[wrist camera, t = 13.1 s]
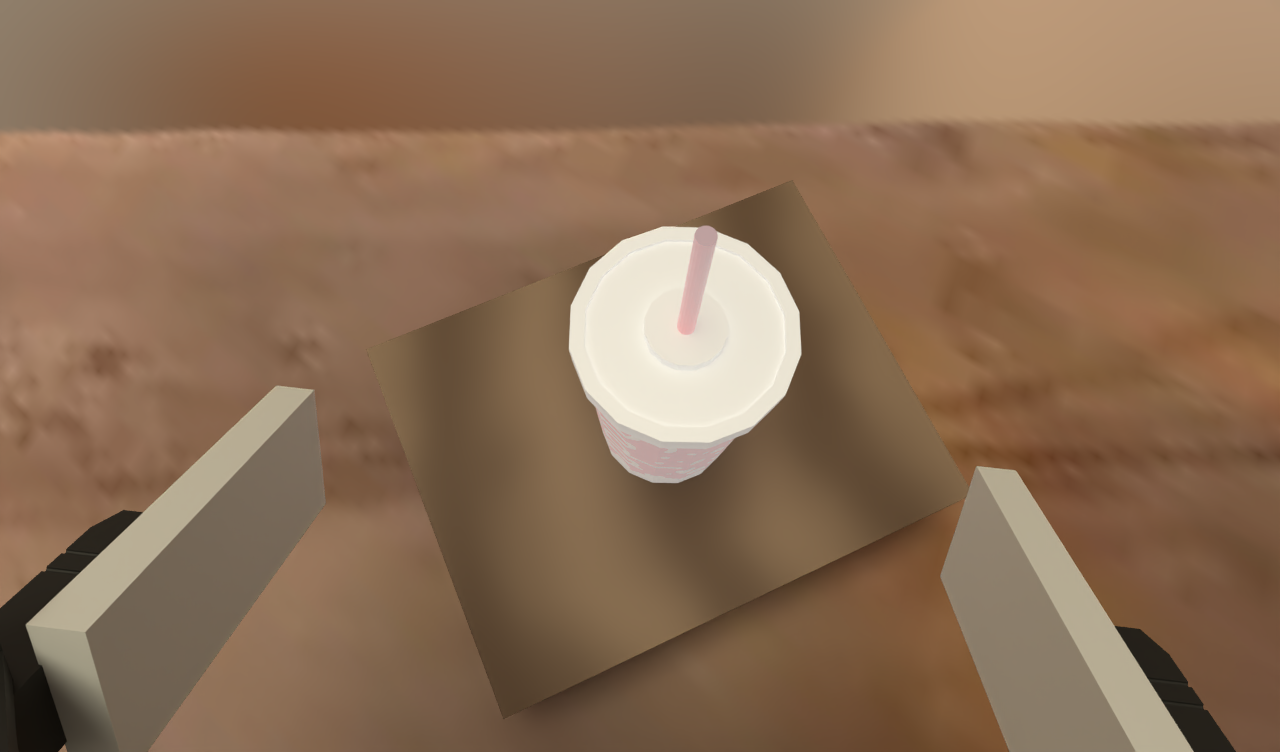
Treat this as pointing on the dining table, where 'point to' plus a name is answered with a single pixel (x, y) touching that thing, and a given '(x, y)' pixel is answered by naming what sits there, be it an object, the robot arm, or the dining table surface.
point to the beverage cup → (682, 347)
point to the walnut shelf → (631, 506)
